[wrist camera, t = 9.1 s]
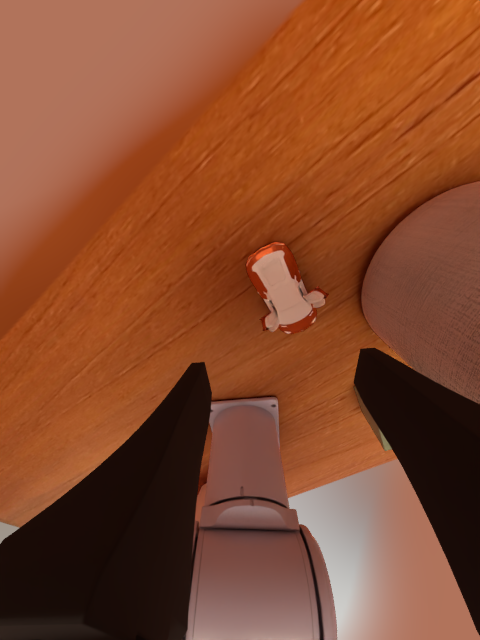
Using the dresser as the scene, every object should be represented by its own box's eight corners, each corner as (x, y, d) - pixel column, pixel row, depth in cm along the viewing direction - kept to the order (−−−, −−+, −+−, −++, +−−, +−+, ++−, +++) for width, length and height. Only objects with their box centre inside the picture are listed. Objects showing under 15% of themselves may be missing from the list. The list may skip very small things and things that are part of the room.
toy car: (273, 338, 20) (279, 360, 17) (231, 261, 16) (229, 274, 13) (328, 314, 18) (344, 334, 16) (295, 226, 15) (307, 232, 12)
